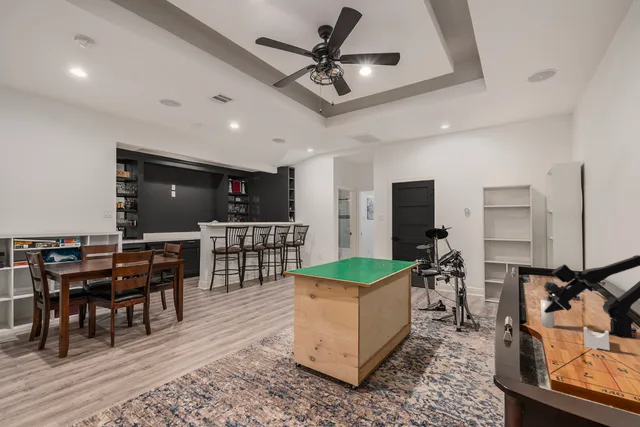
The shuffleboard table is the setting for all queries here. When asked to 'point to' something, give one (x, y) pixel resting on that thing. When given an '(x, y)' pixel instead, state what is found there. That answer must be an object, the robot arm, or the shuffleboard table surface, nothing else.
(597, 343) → the bracket
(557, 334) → the shuffleboard table surface
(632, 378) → the shuffleboard table surface
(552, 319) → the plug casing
